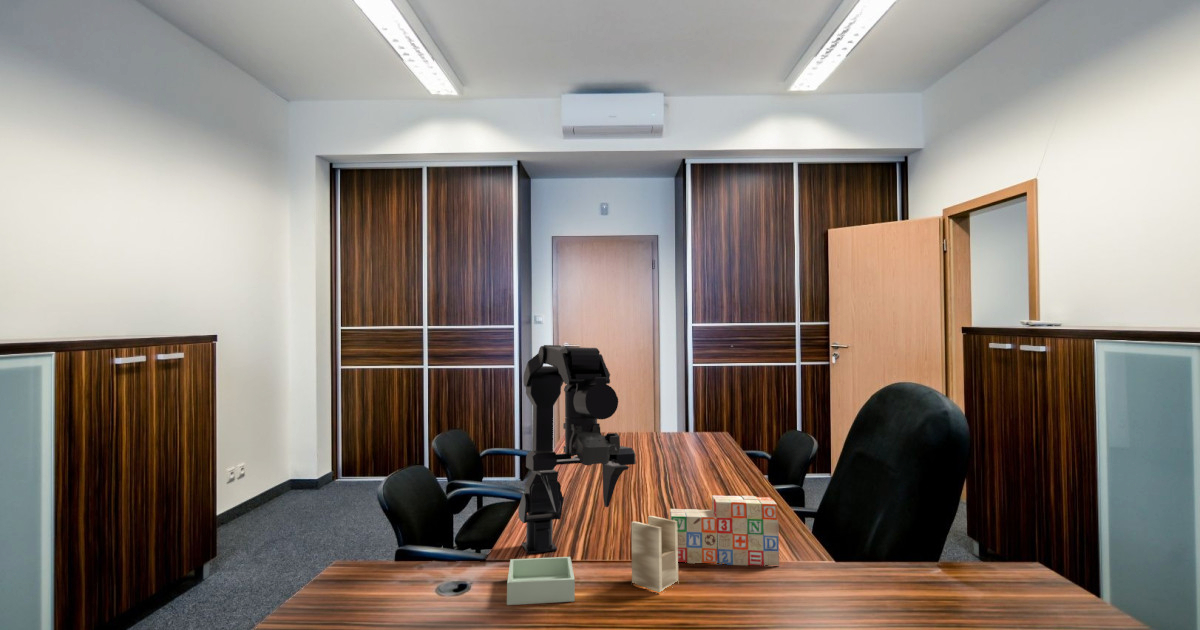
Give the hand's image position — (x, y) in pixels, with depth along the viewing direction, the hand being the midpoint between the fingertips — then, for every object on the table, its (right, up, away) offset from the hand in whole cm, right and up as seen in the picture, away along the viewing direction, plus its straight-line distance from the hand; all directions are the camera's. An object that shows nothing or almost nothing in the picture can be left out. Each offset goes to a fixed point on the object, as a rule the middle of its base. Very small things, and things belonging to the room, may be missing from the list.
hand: (582, 509), depth 90 cm
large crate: (-7, -15, +2) cm, 17 cm away
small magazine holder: (+13, -15, +4) cm, 20 cm away
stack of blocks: (+28, -17, +17) cm, 37 cm away
